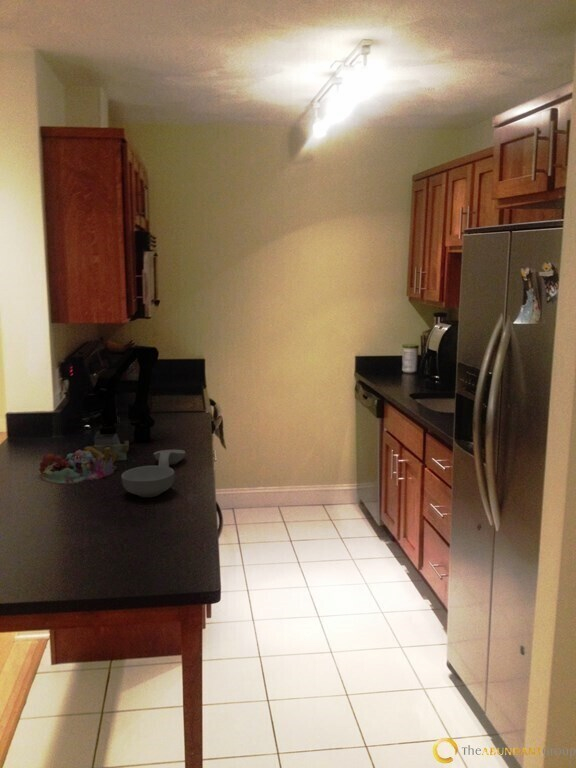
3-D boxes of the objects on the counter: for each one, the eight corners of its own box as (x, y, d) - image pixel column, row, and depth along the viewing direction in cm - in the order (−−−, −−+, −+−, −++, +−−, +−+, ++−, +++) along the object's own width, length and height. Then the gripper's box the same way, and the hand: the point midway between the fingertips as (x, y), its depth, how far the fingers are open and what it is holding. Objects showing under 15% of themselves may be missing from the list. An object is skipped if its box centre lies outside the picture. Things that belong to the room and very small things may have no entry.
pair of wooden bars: (128, 446, 280) (128, 432, 279) (126, 460, 262) (125, 444, 261) (95, 448, 278) (94, 433, 277) (91, 462, 260) (90, 446, 259)
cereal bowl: (174, 483, 236) (174, 463, 235) (175, 500, 220) (174, 479, 219) (123, 486, 233) (122, 466, 232) (120, 504, 217) (119, 482, 216)
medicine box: (121, 446, 272) (116, 431, 267) (118, 455, 269) (112, 439, 263) (103, 445, 273) (97, 430, 268) (99, 454, 270) (93, 438, 265)
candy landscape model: (79, 460, 264) (77, 436, 262) (129, 468, 254) (127, 443, 252) (29, 479, 242) (27, 454, 240) (81, 489, 232) (79, 462, 230)
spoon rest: (156, 458, 265) (155, 440, 264) (187, 457, 266) (186, 439, 265) (147, 478, 242) (146, 458, 241) (181, 477, 243) (180, 457, 241)
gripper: (90, 402, 278) (92, 440, 281) (84, 413, 260) (87, 453, 263) (118, 401, 280) (120, 438, 283) (115, 412, 262) (117, 452, 265)
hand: (111, 445), depth 273 cm, fingers closed
